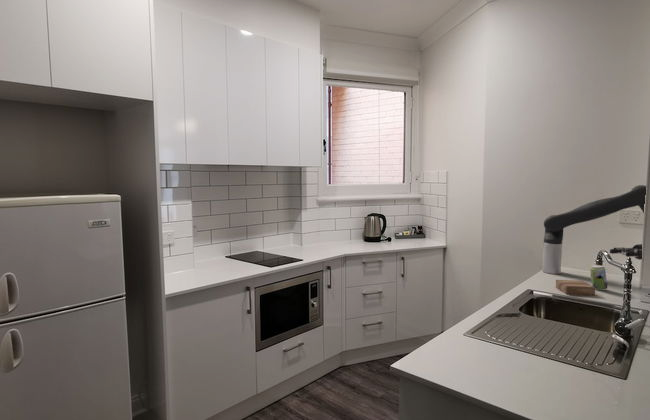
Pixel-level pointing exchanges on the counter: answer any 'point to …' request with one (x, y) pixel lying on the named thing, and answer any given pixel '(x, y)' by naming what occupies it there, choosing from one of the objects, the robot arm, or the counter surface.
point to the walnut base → (575, 287)
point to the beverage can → (598, 277)
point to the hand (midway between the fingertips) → (618, 252)
